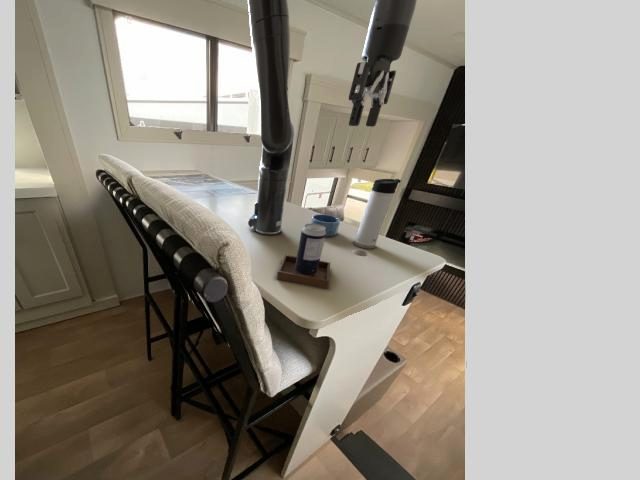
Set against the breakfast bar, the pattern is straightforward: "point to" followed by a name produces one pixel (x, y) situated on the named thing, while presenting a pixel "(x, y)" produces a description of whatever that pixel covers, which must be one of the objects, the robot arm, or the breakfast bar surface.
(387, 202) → the travel mug
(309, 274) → the beverage can
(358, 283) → the breakfast bar surface
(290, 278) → the tray
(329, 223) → the bowl
